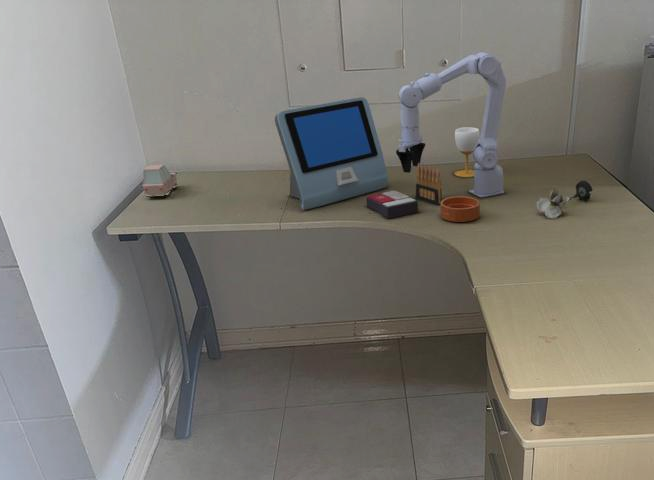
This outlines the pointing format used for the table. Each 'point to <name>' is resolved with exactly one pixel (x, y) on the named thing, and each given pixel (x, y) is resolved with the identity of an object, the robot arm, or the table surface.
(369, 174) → the touchscreen device
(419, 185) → the ammunition clip
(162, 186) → the toy car
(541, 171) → the table surface
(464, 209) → the bowl
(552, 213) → the artificial flower
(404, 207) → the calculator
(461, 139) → the cup
